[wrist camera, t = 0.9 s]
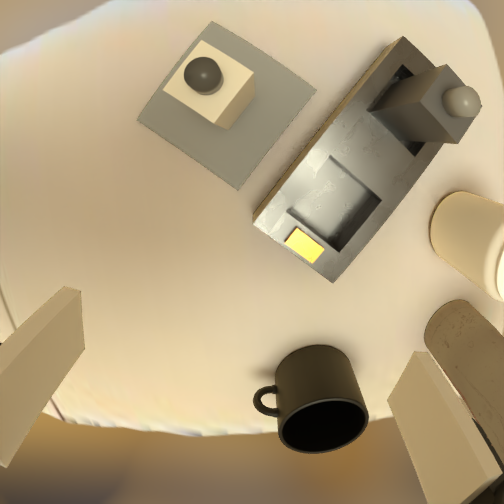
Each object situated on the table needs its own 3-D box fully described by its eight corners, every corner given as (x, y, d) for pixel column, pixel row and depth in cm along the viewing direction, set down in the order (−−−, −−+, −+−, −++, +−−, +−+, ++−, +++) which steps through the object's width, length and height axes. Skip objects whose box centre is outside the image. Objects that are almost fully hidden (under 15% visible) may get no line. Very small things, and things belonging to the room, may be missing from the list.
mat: (137, 120, 28) (136, 120, 27) (212, 22, 24) (211, 21, 24) (238, 189, 30) (237, 190, 29) (315, 90, 26) (316, 89, 26)
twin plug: (369, 112, 26) (434, 98, 15) (392, 83, 25) (462, 59, 14) (399, 140, 27) (474, 145, 15) (421, 112, 26) (499, 105, 14)
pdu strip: (324, 267, 32) (334, 286, 28) (253, 214, 30) (252, 226, 26) (448, 107, 26) (473, 104, 22) (386, 46, 24) (405, 33, 20)
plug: (193, 106, 27) (152, 84, 15) (219, 72, 26) (195, 29, 14) (228, 130, 28) (208, 121, 16) (255, 96, 26) (253, 64, 15)
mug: (256, 341, 35) (256, 397, 27) (358, 344, 35) (380, 395, 27) (250, 399, 38) (249, 453, 30) (341, 400, 38) (355, 451, 30)
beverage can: (467, 266, 32) (528, 313, 21) (417, 250, 31) (478, 300, 20) (489, 203, 29) (559, 232, 18) (440, 180, 29) (515, 203, 17)
